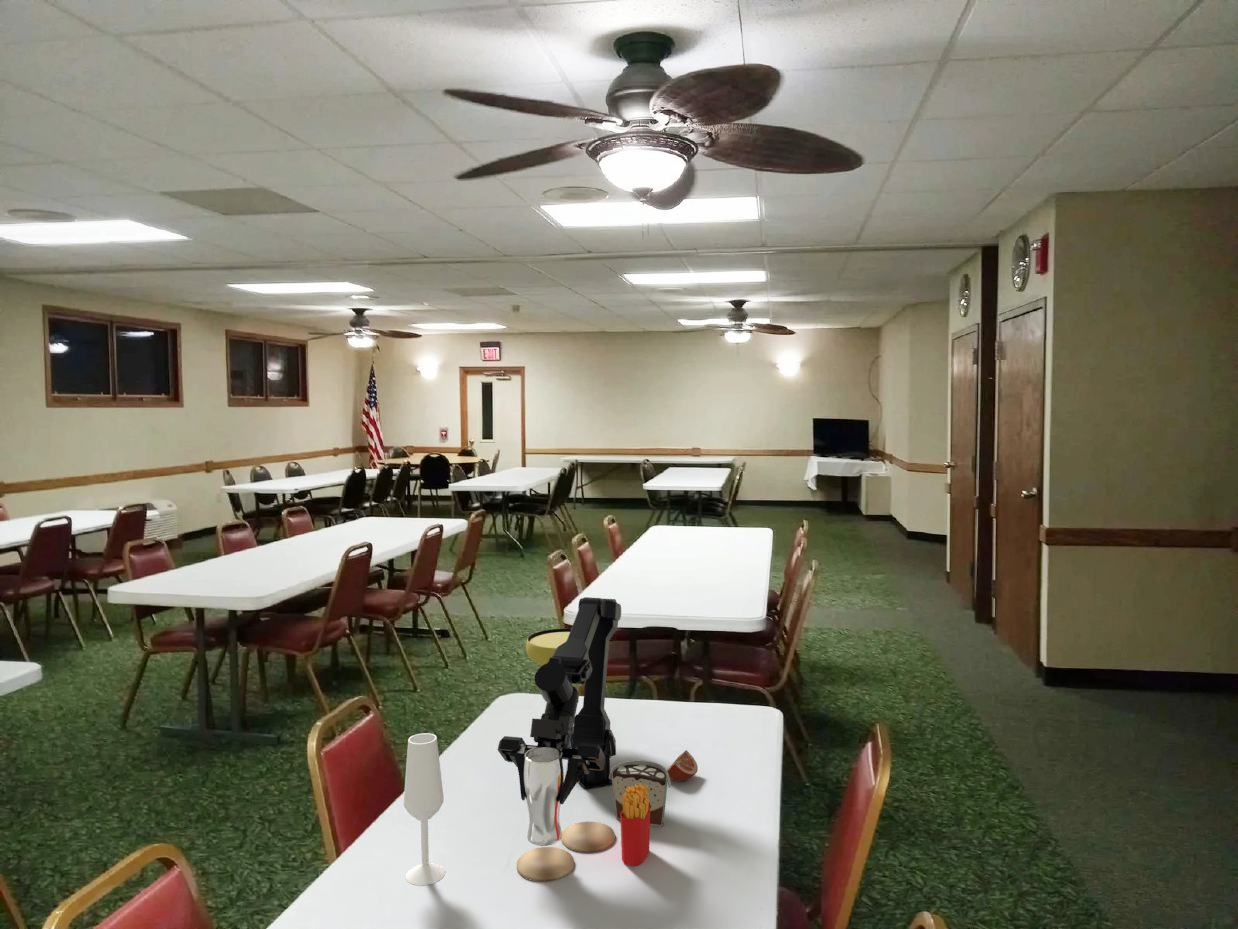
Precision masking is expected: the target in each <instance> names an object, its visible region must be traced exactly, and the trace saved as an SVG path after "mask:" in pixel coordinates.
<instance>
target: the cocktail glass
mask: <svg viewBox="0 0 1238 929" xmlns="http://www.w3.org/2000/svg"><path fill="white" fill-rule="evenodd" d="M571 628H572V627H571ZM571 628H566V627H565V628H552V629H545V630H544V629H543V630H540V631H538V632H534V633H532V634H530V635H529V636H528V637H527V640H526V644H525V647H526V648H525V650H526V654H527V656H528V657H529V659H530V660H531V661H532V662H534V663H535V665H538V666H540V667H541V666H543V665H544V664H546V663H548V661H549V659H550V657H552V656H553V654H554V652H555V651H556V649H557V647H558V646H560V645H561V644H563V643H565V642H566V641H567V639H568V636H569V634H570V631H571ZM569 749H571V742H570V745H569Z"/></svg>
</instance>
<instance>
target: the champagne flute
mask: <svg viewBox="0 0 1238 929" xmlns="http://www.w3.org/2000/svg"><path fill="white" fill-rule="evenodd" d="M407 739H408V740H407V751H406V765H405V766H406V767H405V779H404V793H403V807H404V809H405V810H406V812H407V813H408V814H409V815H410V817H412V818H415V820H418V821H420V844H421V845H420V846H421V850H420V851H421V863H419V864H418V865H415V866H414V867H412V868H411V869H409V870H408V871H406V874H405V880H406V882H408V883H409V884H411V885H414V886H427V885H432V884H434V883H436V882H439V881H440V880H442V879H443V877H445V874H446V870H445V868H444V867H443V865H440V864H437V863H432V862H429V860H430V859H429V855H430V854H429V852H430V851H429V820H431V819H432V818H433V816H435V815H436V814H437V813H438V812H439V811H440V809H441V807H442V806H443V804H444V799H445V798H444V787H443V781H442V773H441V772H442V771H441V762H440V756H439V755H440V754H439V747H438V746H439V745H438V738H437V735H436V734H434V733H431V732H430V733H427V732H426V733H417V734H413V735H412V736H410V737H409V738H407Z"/></svg>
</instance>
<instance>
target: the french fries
mask: <svg viewBox="0 0 1238 929" xmlns="http://www.w3.org/2000/svg"><path fill="white" fill-rule="evenodd" d="M625 790H626V793H624V794H623V797H622V799H623V810H622V812H621V813H620V819H621V820H620V839H621V840H620V841H621V842H620V843H621V844H620V845H621V860H622V863H623V864H624V865H627V866H632V867H636V866H639V865H642V864H643V863H644V861H645V860H646V858H647V857H648V855H649V854H650V842H651V841H650V833H651V832H650V831H651V825H650V802H649V800H648V786H647V785H645V787H643V786H642V785H641V784H639V785H638V786H637V785H636V784H635V785H634V787H633V786H631V788H630V787H627V789H625ZM644 790H645V791H644Z"/></svg>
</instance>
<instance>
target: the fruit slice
mask: <svg viewBox="0 0 1238 929" xmlns="http://www.w3.org/2000/svg"><path fill="white" fill-rule="evenodd" d="M697 763H698V762H697V761H696V759H695V757H694V756H692V754H691V753H690V752H689V751H688V750H687V749H686V750H684V751H683V752H682V753H681V754H679V755H678V757H677V758H676V759H675V760H674V761H673V763H672V764H671V765H670V766H669V767H668V768H667V769H666V770H667V771H668V774H669V777H670V780H673V781H677V782H682V781H685V780H688V779H689V780H690V779H691V778H693V777H694V776H696V774H697V772H698V764H697Z"/></svg>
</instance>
